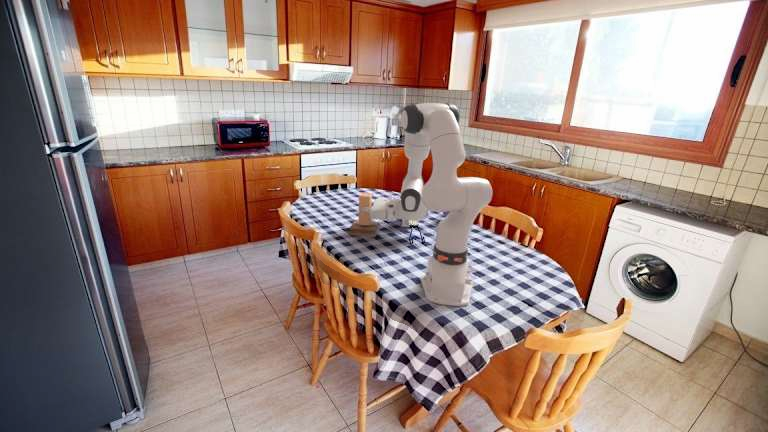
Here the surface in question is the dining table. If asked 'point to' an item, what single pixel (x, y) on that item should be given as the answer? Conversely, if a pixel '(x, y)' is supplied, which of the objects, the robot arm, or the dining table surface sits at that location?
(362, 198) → the terracotta block
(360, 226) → the walnut riser
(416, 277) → the dining table surface
